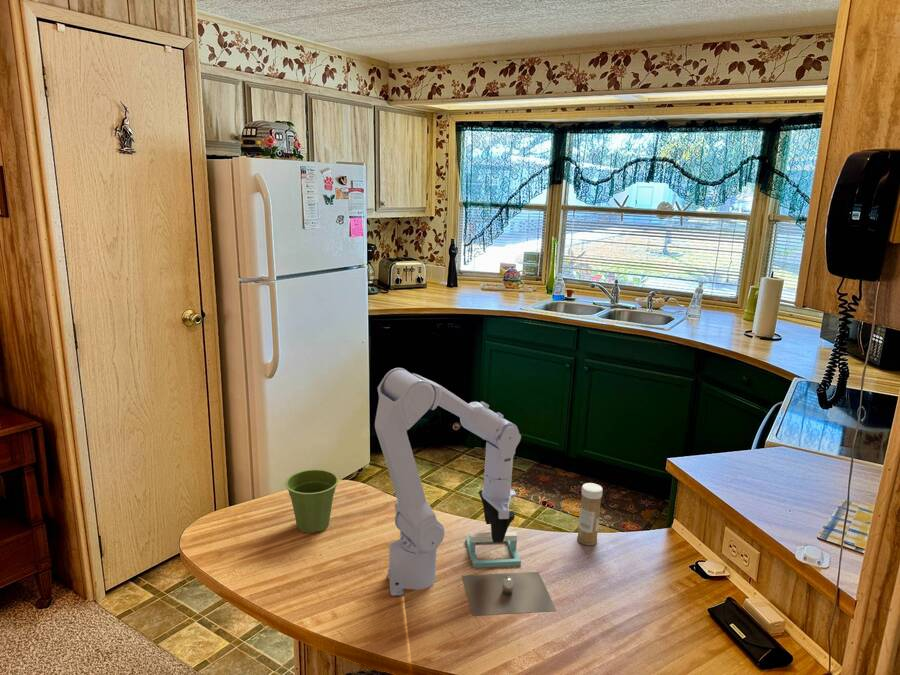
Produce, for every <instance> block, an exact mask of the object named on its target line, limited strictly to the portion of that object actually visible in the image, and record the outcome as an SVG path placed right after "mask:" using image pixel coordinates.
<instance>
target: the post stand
mask: <svg viewBox="0 0 900 675" xmlns="http://www.w3.org/2000/svg"><path fill="white" fill-rule="evenodd" d="M461 578H462V582H463V586H464V590H465V593H466V597H467V601H468V604H469V608H470V612H471V616H472V617H477V616H478V617H479V616H481V617H482V616H497V615H510V614H511V615H513V614H527V613H542V612H543V613H544V612H545V613H546V612H557V608H556V607H555V604H554V602H553V600H552V598H551V595H550V592H549V591H548V589H547V587H546V584H545V583H544V580H543V579H542V576H541V574H540V572H539V571H530V572H528V571H527V572H526V571H525V572H509V573H507V572H506V573H492V574H491V573H490V574H487V573H486V574H472V575H469V574H468V575H461Z"/></svg>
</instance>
